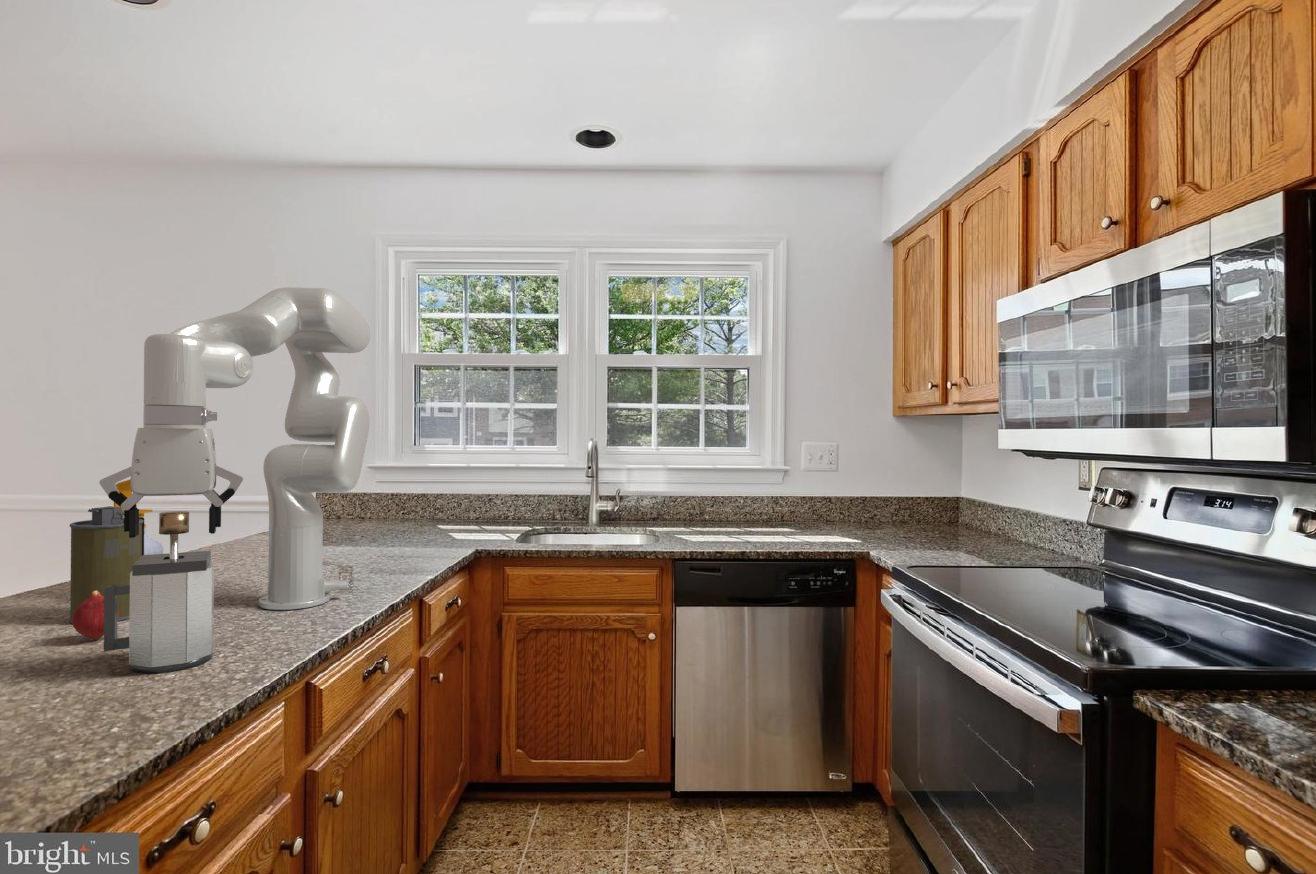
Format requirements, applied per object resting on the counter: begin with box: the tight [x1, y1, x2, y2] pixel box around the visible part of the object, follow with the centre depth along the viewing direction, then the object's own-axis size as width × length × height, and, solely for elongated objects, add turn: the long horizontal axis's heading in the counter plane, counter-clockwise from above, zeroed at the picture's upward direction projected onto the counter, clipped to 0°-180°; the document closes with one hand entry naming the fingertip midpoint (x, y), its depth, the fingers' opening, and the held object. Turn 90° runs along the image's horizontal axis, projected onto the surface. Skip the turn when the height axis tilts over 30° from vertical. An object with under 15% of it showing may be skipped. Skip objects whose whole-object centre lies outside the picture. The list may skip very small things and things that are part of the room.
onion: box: [71, 591, 119, 641], centre depth 109 cm, size 6×6×8 cm
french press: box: [103, 550, 215, 675], centre depth 99 cm, size 13×10×16 cm
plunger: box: [158, 510, 190, 559], centre depth 100 cm, size 7×7×20 cm
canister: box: [68, 506, 145, 624], centre depth 122 cm, size 11×10×20 cm
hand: (174, 534), depth 100 cm, fingers open, 9 cm apart
